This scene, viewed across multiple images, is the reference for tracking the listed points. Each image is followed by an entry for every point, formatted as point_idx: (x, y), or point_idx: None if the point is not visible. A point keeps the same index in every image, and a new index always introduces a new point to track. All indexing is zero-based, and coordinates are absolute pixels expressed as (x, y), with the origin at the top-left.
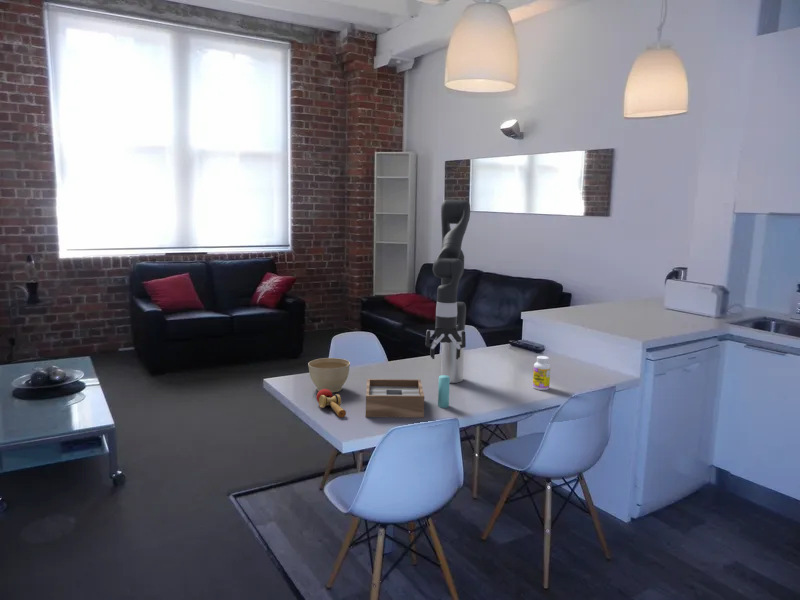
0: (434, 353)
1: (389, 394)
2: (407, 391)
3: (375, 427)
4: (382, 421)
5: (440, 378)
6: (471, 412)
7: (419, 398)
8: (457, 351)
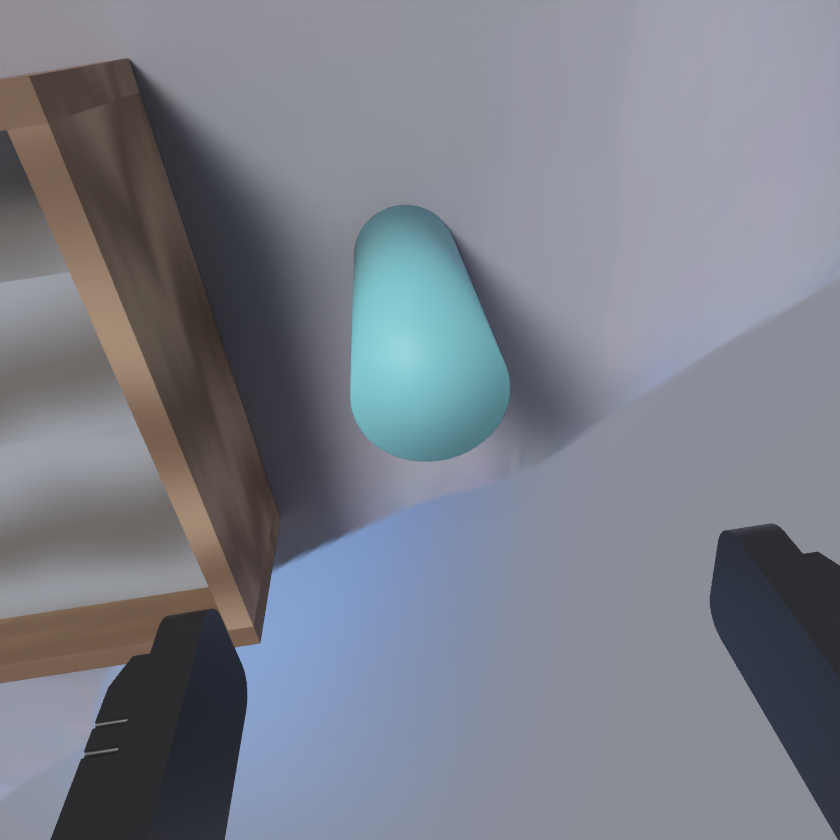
0: (225, 818)
1: None
2: (3, 337)
3: (38, 688)
4: None
5: (379, 444)
6: (632, 366)
7: None
8: (836, 788)
